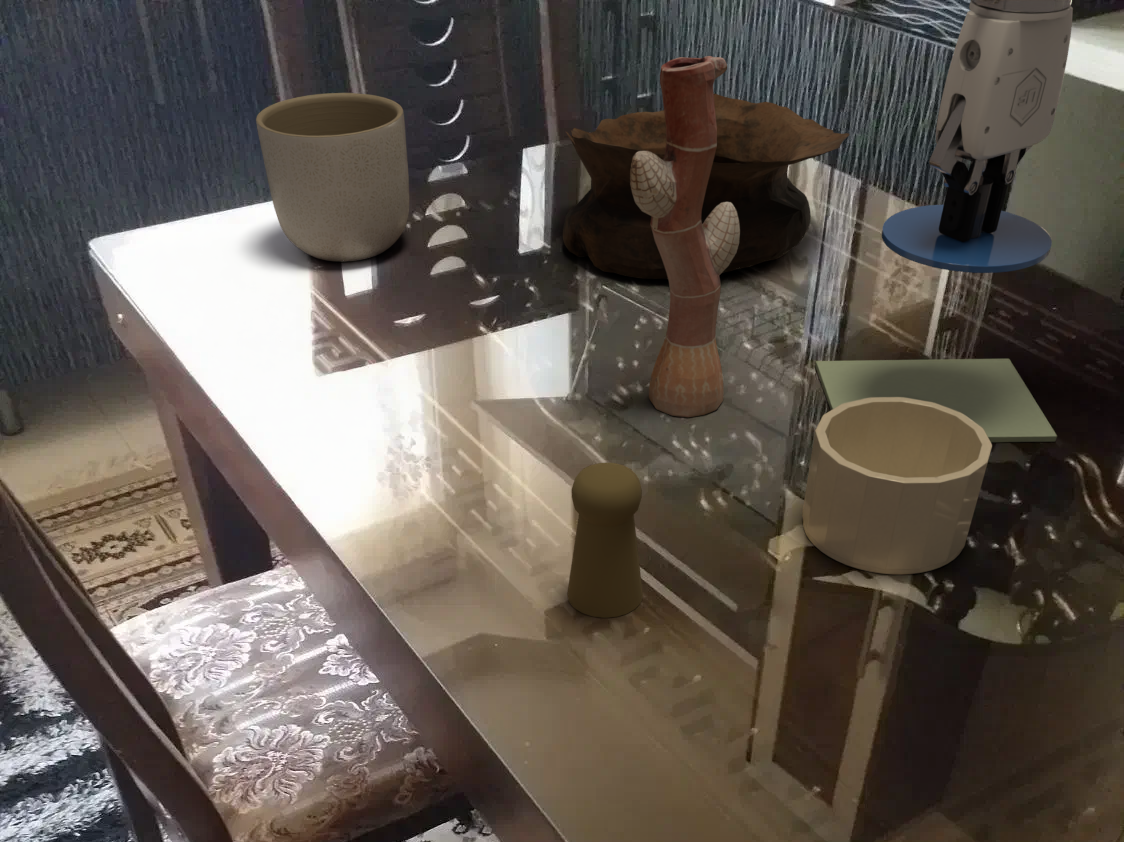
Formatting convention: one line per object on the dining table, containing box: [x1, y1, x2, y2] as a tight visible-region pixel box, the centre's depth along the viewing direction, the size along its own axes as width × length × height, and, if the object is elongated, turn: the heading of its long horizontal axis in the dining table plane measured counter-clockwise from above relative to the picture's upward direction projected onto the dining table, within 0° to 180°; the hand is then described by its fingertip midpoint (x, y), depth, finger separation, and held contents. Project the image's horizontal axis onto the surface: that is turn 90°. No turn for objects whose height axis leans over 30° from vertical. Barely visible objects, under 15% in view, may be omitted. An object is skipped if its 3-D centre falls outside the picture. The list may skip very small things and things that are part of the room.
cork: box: [566, 461, 644, 619], centre depth 88 cm, size 6×6×11 cm
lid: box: [881, 175, 1053, 274], centre depth 101 cm, size 15×15×6 cm
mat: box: [814, 358, 1058, 443], centre depth 113 cm, size 20×16×1 cm
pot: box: [801, 397, 993, 575], centre depth 95 cm, size 14×14×8 cm
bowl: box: [562, 93, 851, 280], centre depth 139 cm, size 34×33×15 cm
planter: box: [255, 92, 410, 263], centre depth 138 cm, size 17×17×15 cm
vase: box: [630, 55, 740, 418], centre depth 104 cm, size 10×7×30 cm
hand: (967, 230), depth 102 cm, fingers closed on lid, 2 cm apart
